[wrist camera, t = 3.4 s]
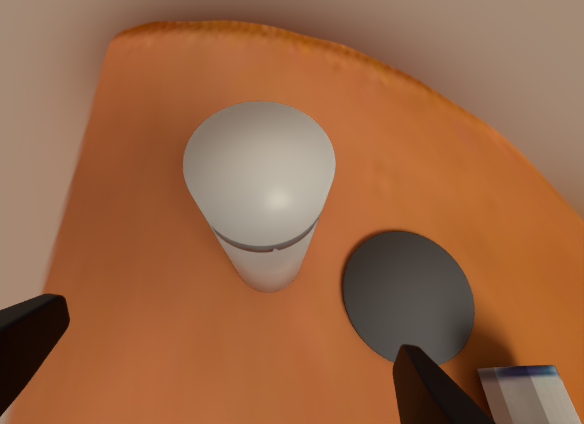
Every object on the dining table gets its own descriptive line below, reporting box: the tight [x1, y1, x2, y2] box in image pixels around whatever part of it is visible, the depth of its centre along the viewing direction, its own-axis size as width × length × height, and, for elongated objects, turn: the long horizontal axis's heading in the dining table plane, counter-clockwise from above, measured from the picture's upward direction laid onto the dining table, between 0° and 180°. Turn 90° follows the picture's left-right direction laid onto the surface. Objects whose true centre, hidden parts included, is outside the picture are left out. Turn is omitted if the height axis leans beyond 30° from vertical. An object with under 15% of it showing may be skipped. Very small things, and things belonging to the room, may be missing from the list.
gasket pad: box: [343, 231, 474, 365], centre depth 19 cm, size 9×9×1 cm
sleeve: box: [183, 101, 335, 293], centre depth 14 cm, size 5×5×12 cm
